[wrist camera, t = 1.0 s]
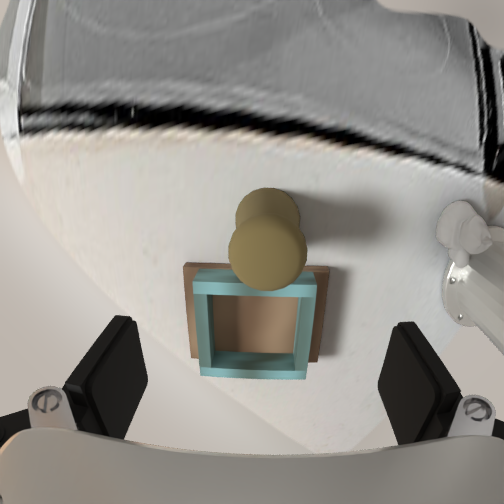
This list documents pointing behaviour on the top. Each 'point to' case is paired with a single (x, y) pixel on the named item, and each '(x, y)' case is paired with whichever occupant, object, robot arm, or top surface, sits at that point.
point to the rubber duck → (462, 232)
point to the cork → (267, 241)
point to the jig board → (253, 323)
